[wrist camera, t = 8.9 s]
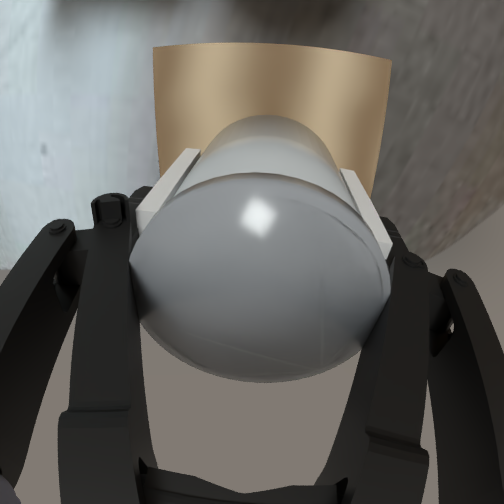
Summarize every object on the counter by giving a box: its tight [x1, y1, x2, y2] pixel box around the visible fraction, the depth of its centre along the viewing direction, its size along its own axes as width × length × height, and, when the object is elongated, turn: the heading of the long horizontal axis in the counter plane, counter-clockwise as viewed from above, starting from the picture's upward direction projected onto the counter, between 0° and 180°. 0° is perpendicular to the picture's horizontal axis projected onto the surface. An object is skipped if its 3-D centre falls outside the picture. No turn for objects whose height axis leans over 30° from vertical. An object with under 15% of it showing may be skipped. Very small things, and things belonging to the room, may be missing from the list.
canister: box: [129, 115, 391, 383], centre depth 12 cm, size 7×7×9 cm
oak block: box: [153, 43, 392, 198], centre depth 21 cm, size 14×14×5 cm
